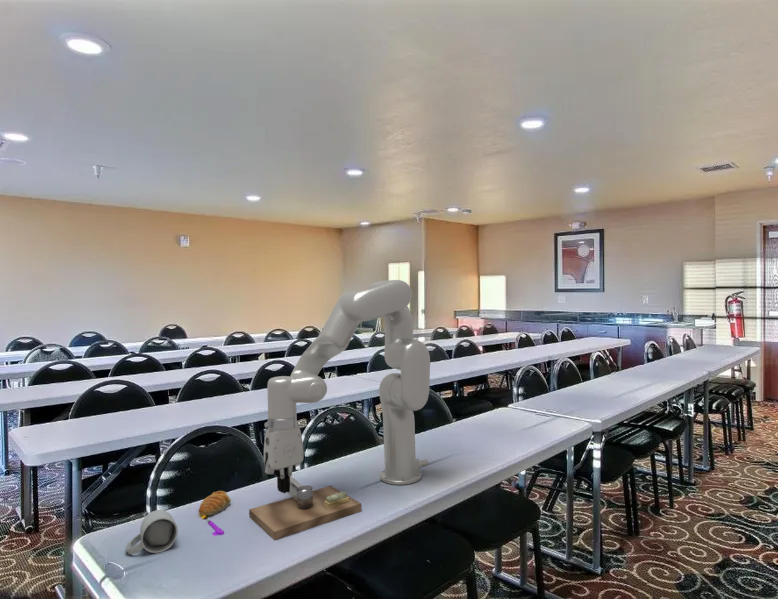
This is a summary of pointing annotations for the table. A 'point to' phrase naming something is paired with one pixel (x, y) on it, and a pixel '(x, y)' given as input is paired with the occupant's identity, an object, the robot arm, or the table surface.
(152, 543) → the ceramic mug
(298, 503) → the ball-ended lever
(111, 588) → the table surface
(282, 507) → the brown wooden board
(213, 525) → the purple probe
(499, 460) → the table surface
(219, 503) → the pastry
